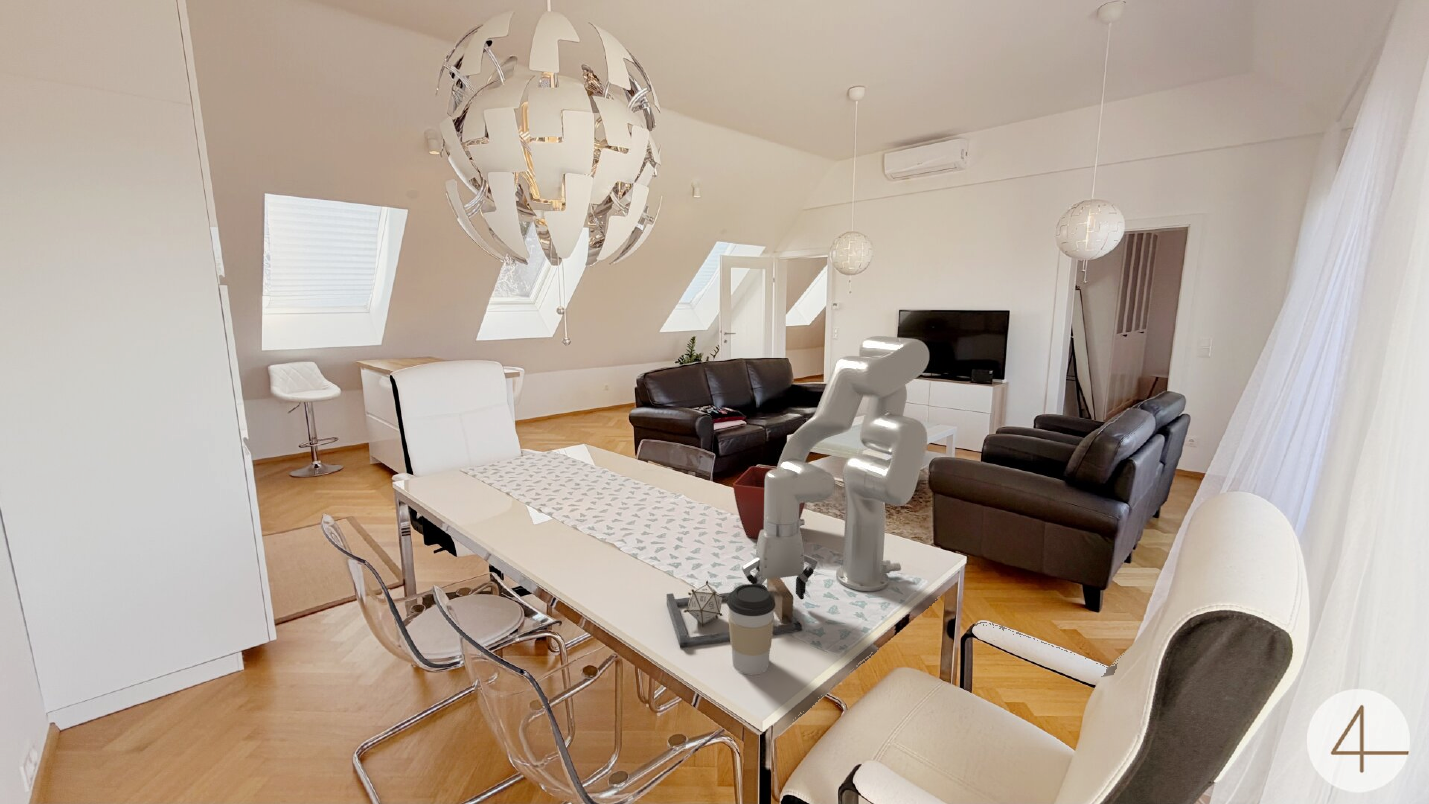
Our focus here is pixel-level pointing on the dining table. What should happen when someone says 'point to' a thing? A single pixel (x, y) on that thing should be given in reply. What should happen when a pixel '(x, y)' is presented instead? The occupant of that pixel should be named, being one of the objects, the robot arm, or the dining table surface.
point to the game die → (704, 604)
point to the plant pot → (753, 500)
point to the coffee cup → (751, 627)
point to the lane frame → (781, 610)
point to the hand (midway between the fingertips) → (779, 599)
